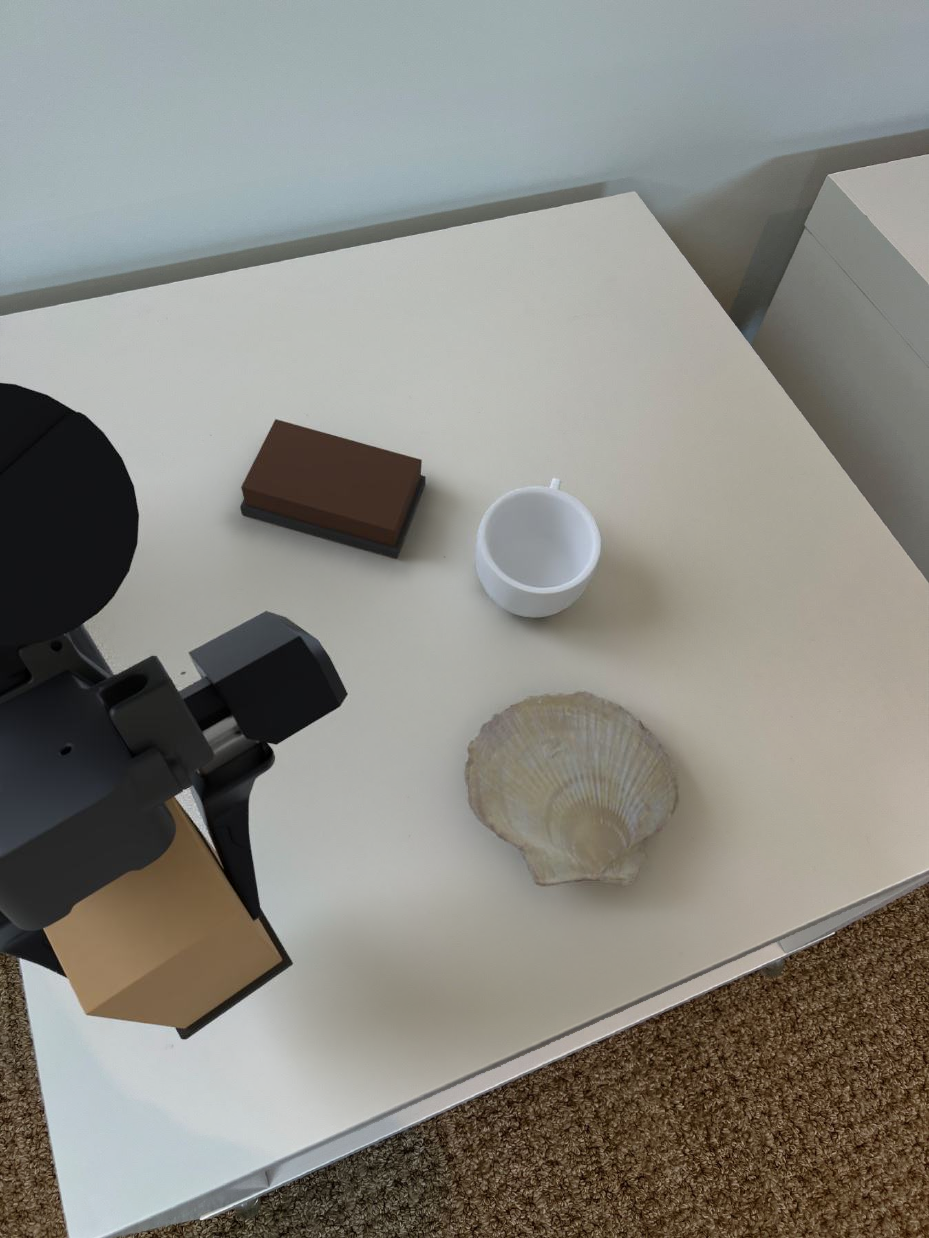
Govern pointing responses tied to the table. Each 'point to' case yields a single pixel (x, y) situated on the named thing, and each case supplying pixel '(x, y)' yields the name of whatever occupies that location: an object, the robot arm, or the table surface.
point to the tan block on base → (167, 940)
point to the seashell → (571, 786)
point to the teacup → (537, 550)
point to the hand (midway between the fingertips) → (193, 954)
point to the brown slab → (333, 488)
